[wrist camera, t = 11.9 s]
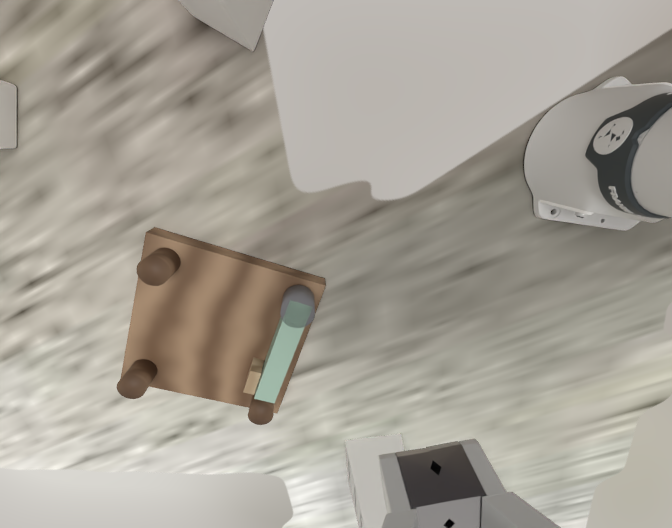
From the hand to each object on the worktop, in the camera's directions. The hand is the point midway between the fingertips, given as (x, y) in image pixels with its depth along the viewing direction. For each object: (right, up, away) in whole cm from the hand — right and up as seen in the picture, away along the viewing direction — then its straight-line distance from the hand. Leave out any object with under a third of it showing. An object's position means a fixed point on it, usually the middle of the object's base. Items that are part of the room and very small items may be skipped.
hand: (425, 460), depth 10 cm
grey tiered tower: (+4, -31, +52) cm, 61 cm away
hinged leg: (-10, -5, +38) cm, 39 cm away
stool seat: (-20, -3, +39) cm, 44 cm away
